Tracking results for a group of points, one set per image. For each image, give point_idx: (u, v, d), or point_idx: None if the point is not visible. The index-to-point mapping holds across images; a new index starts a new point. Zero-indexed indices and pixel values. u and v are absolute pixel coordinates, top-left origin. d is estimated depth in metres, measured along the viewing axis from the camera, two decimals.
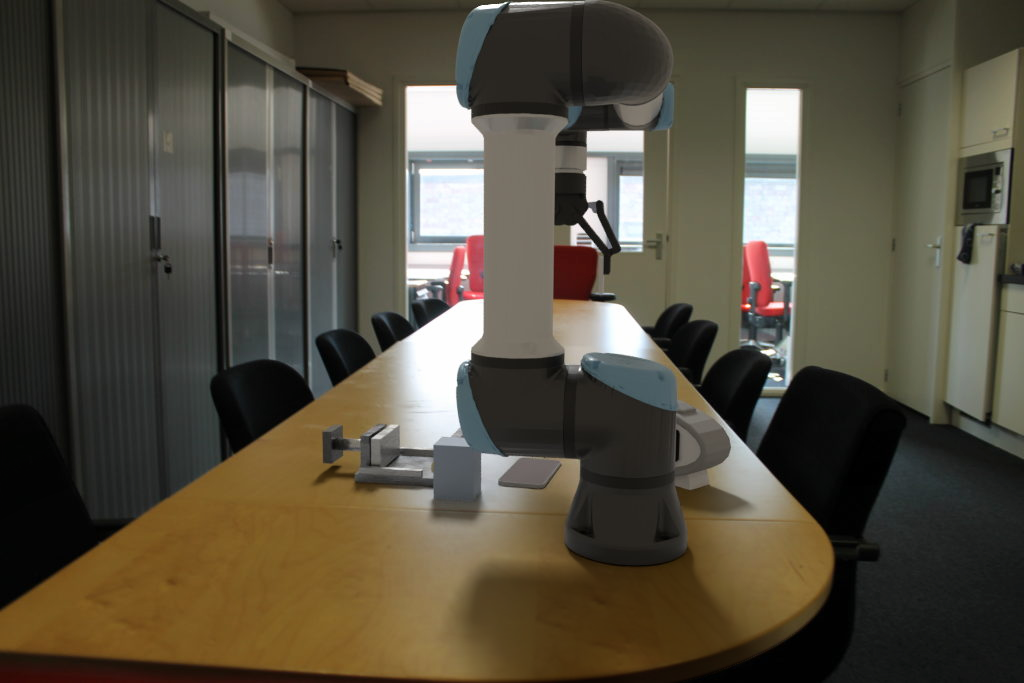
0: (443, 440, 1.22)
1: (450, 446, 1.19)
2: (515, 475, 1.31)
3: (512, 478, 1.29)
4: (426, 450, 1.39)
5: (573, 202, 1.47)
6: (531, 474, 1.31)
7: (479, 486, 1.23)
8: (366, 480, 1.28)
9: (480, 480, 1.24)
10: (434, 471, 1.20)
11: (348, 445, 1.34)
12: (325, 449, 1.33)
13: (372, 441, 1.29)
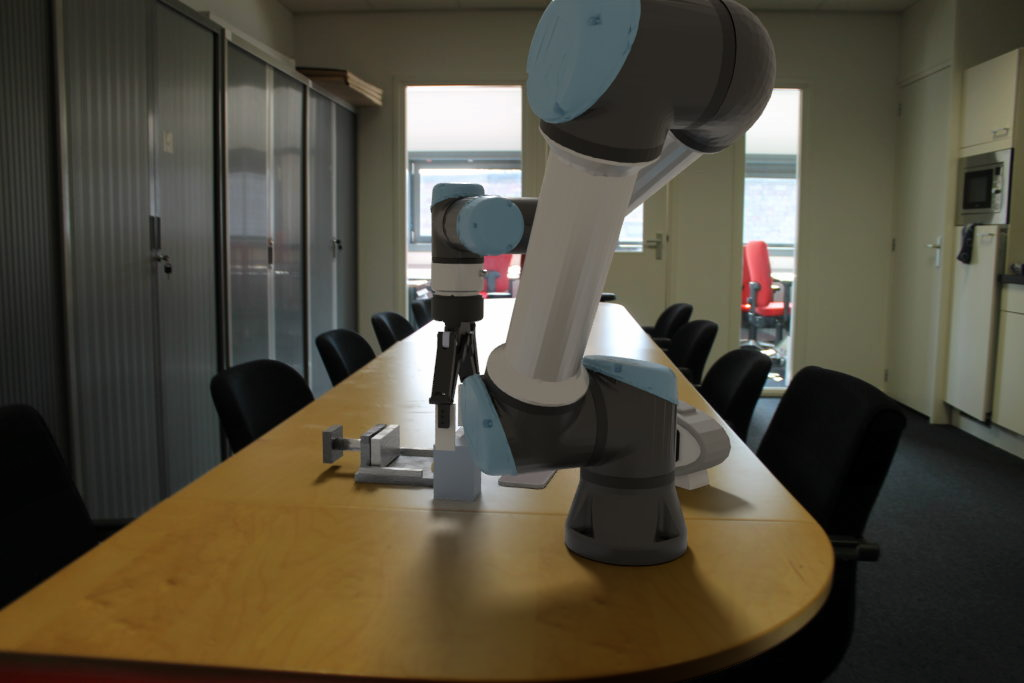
0: None
1: None
2: None
3: (512, 478, 1.29)
4: (426, 450, 1.39)
5: None
6: (531, 474, 1.31)
7: (479, 486, 1.23)
8: (366, 480, 1.28)
9: (480, 480, 1.24)
10: (434, 471, 1.20)
11: (348, 445, 1.34)
12: (325, 449, 1.33)
13: (372, 441, 1.29)
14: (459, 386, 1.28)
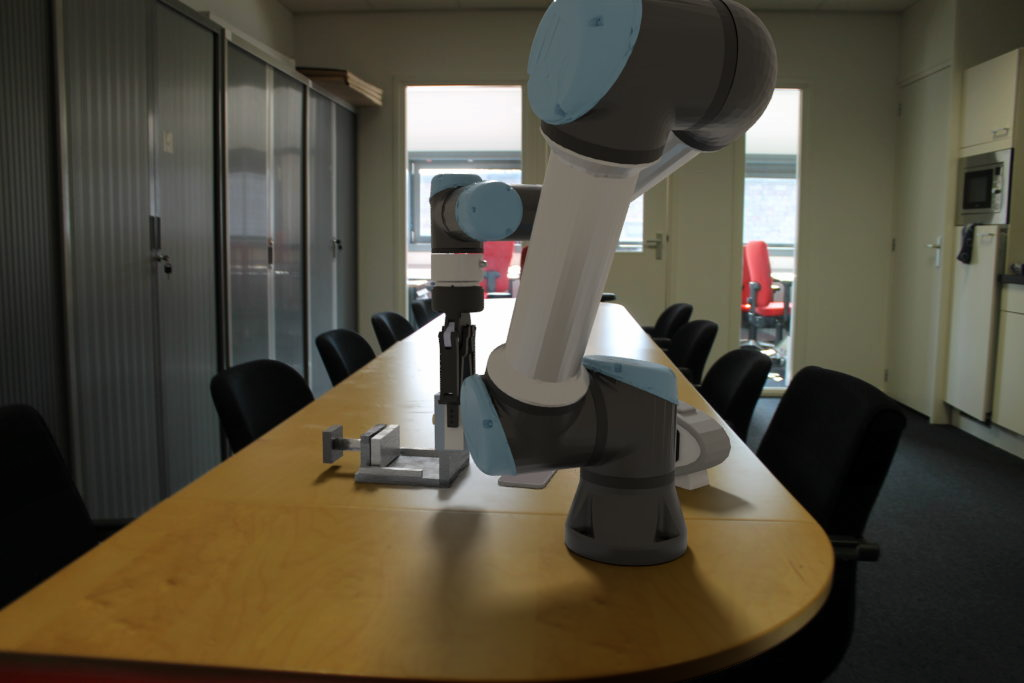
0: None
1: None
2: None
3: (512, 478, 1.29)
4: (426, 450, 1.39)
5: None
6: (531, 474, 1.31)
7: None
8: (366, 480, 1.28)
9: None
10: (435, 422, 1.19)
11: (348, 445, 1.34)
12: (325, 449, 1.33)
13: (372, 441, 1.29)
14: None
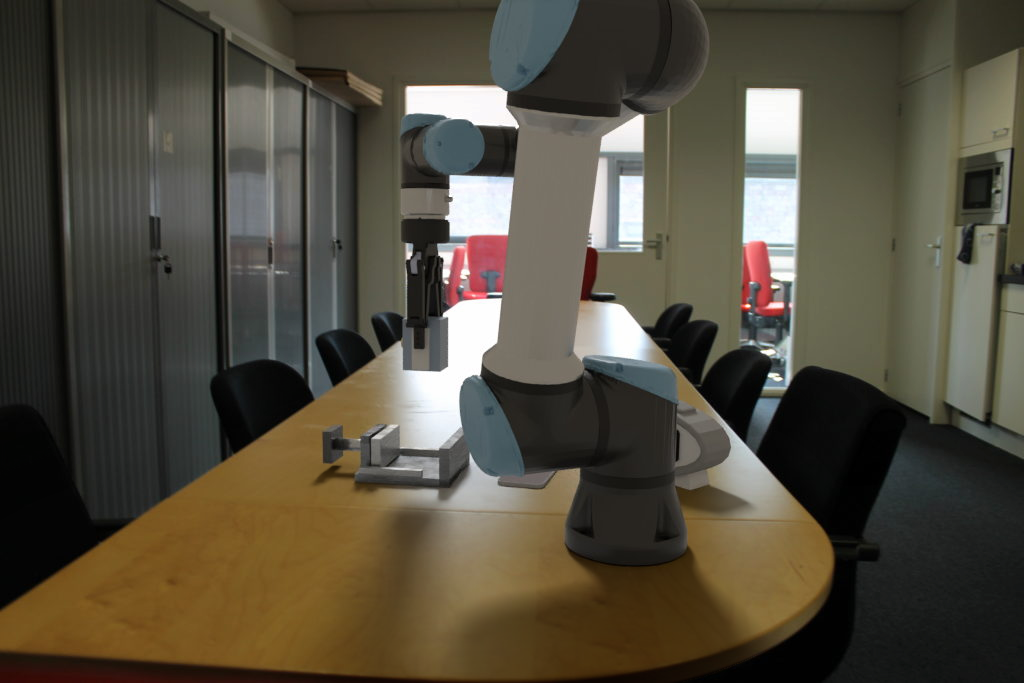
0: None
1: None
2: None
3: (512, 478, 1.29)
4: (426, 450, 1.39)
5: None
6: (531, 474, 1.31)
7: (446, 361, 1.32)
8: (366, 480, 1.28)
9: (447, 356, 1.33)
10: (403, 344, 1.29)
11: (348, 445, 1.34)
12: (325, 449, 1.33)
13: (372, 441, 1.29)
14: None
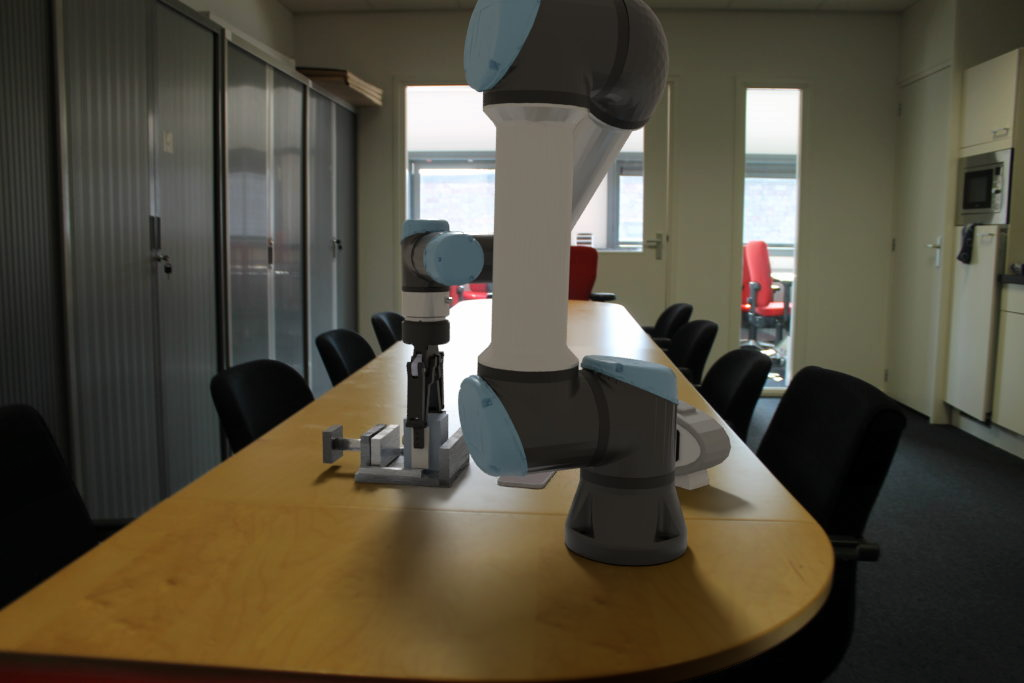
0: None
1: None
2: None
3: (512, 477, 1.29)
4: None
5: None
6: (531, 474, 1.31)
7: None
8: (366, 480, 1.28)
9: None
10: (404, 443, 1.31)
11: (348, 445, 1.34)
12: (325, 449, 1.33)
13: (372, 441, 1.29)
14: None
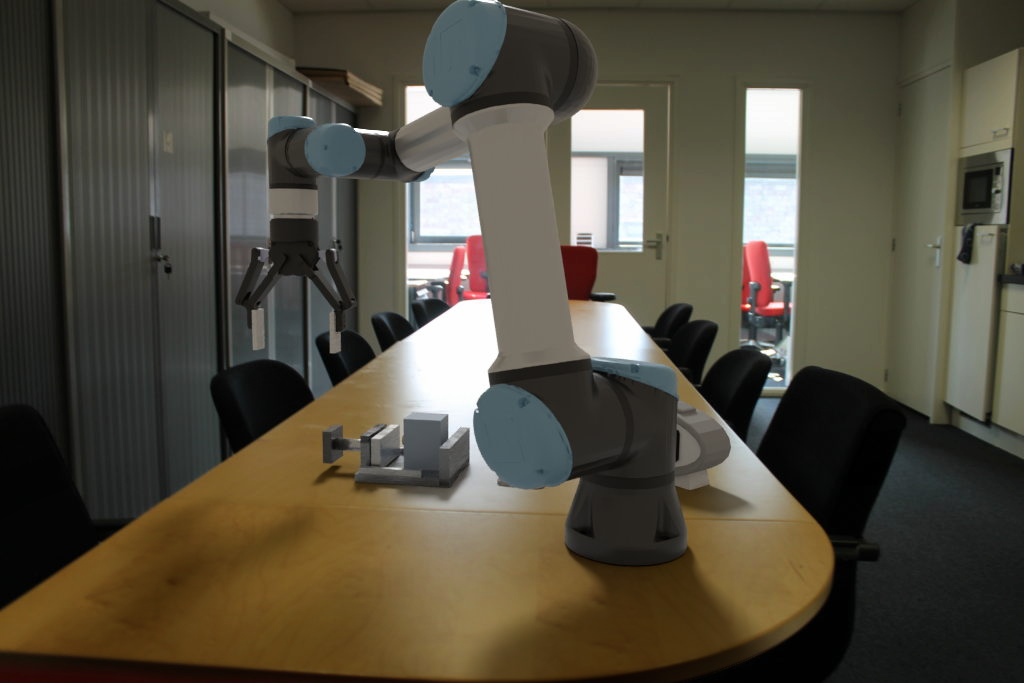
0: (413, 415, 1.33)
1: (419, 420, 1.30)
2: None
3: None
4: None
5: (301, 250, 1.32)
6: None
7: None
8: (366, 480, 1.28)
9: None
10: (404, 443, 1.31)
11: (348, 445, 1.34)
12: (325, 449, 1.33)
13: (372, 441, 1.29)
14: (256, 311, 1.34)
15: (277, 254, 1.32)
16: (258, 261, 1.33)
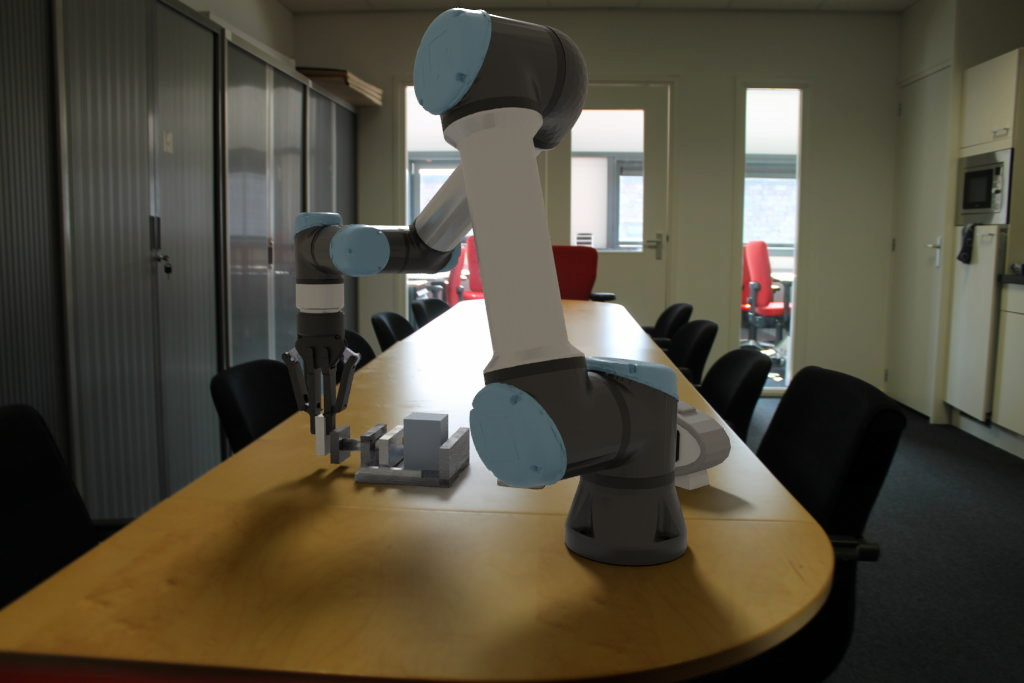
0: (413, 415, 1.33)
1: (419, 420, 1.30)
2: None
3: None
4: None
5: (332, 339, 1.32)
6: None
7: None
8: (366, 480, 1.28)
9: None
10: (404, 443, 1.31)
11: (355, 445, 1.34)
12: (332, 449, 1.33)
13: (380, 441, 1.29)
14: None
15: (303, 344, 1.33)
16: (293, 362, 1.34)
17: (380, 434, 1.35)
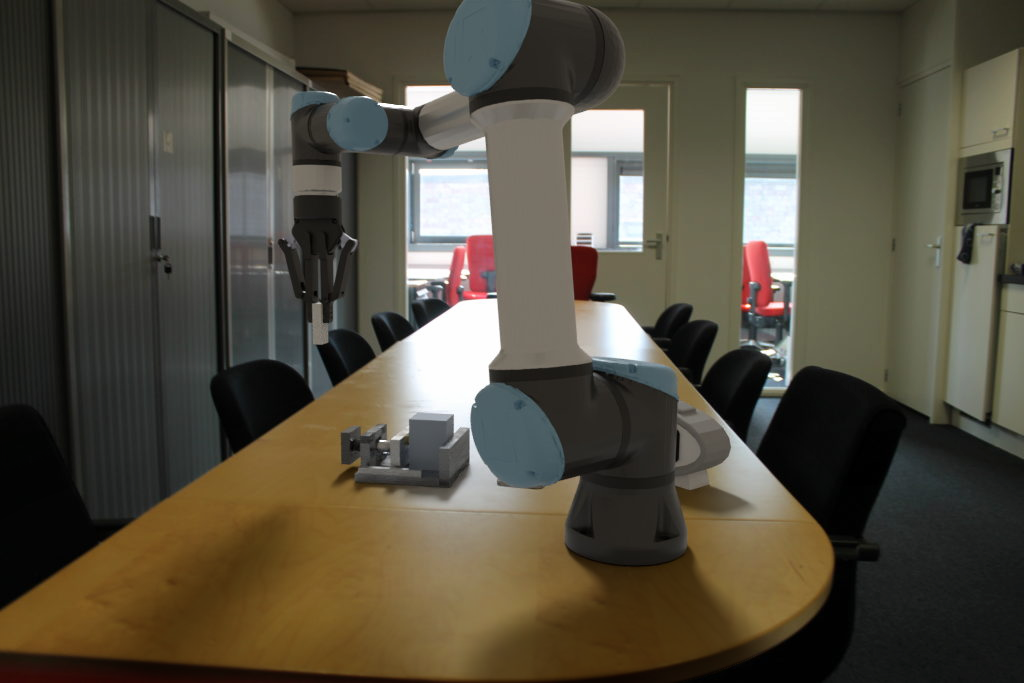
0: (418, 415, 1.33)
1: (424, 420, 1.30)
2: None
3: None
4: None
5: (329, 223, 1.30)
6: None
7: None
8: (366, 480, 1.28)
9: None
10: (410, 443, 1.31)
11: None
12: (343, 450, 1.33)
13: (391, 442, 1.29)
14: None
15: (300, 229, 1.31)
16: (290, 248, 1.32)
17: (380, 434, 1.35)
